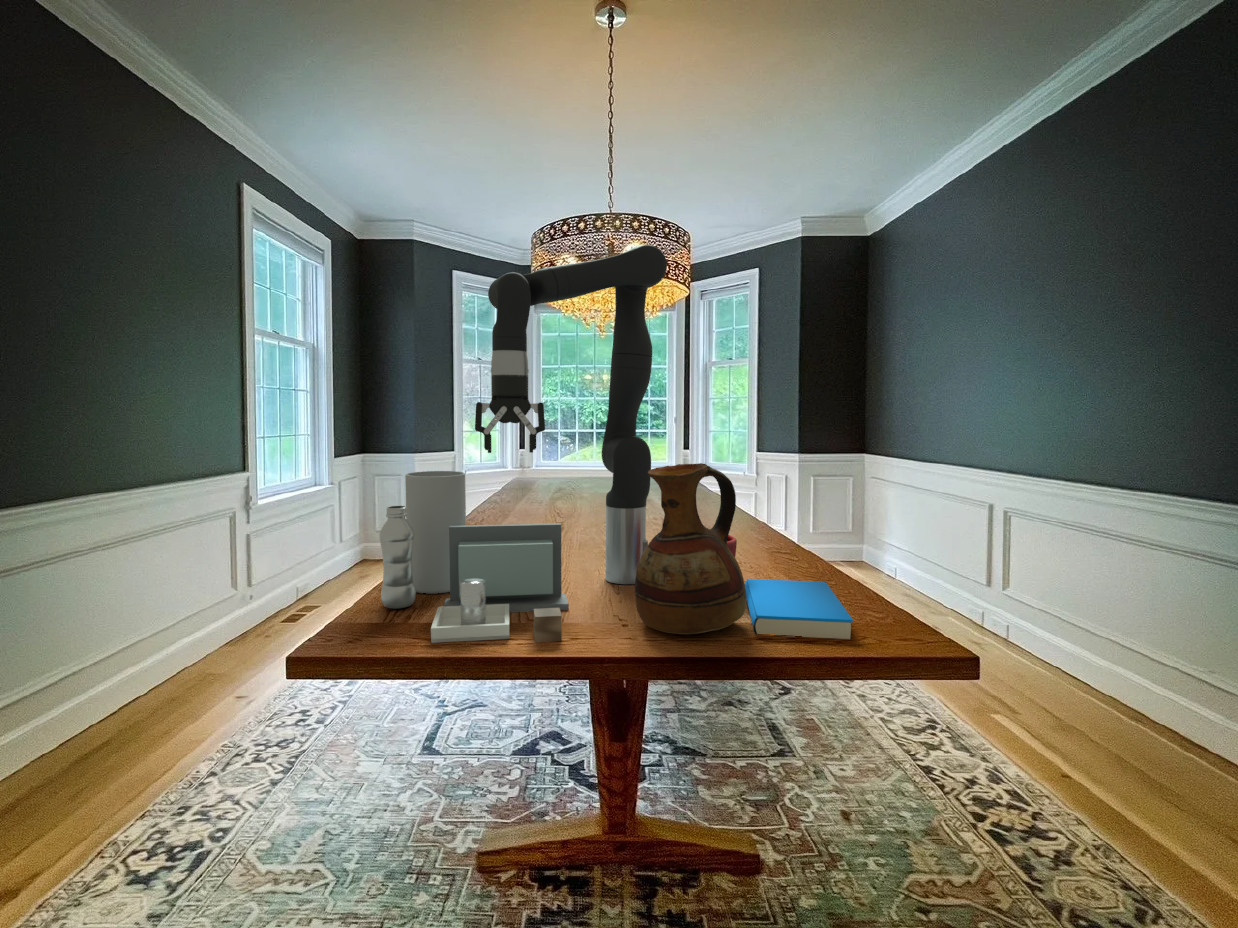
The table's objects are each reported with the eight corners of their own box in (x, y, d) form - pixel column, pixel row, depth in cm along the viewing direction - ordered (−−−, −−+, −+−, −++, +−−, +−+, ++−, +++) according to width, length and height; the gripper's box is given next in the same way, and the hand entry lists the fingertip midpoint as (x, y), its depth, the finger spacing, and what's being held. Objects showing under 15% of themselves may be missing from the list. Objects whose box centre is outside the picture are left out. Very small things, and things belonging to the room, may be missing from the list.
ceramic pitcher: (617, 616, 125) (619, 459, 122) (709, 604, 133) (712, 457, 130) (665, 652, 107) (667, 469, 104) (767, 635, 115) (772, 465, 112)
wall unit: (565, 599, 136) (565, 522, 134) (568, 609, 129) (568, 529, 127) (446, 604, 132) (444, 525, 130) (442, 615, 125) (441, 532, 123)
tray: (509, 616, 124) (509, 603, 124) (509, 638, 113) (509, 624, 112) (438, 619, 122) (438, 606, 122) (431, 642, 110) (430, 628, 110)
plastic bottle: (423, 604, 132) (421, 505, 130) (401, 614, 125) (399, 510, 124) (396, 600, 134) (393, 503, 132) (373, 610, 127) (370, 508, 126)
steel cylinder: (486, 620, 120) (485, 578, 119) (485, 629, 116) (485, 584, 115) (461, 622, 119) (461, 578, 118) (459, 630, 115) (459, 585, 114)
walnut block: (559, 632, 116) (559, 607, 116) (561, 641, 112) (561, 615, 111) (533, 633, 116) (533, 608, 115) (534, 642, 111) (534, 616, 111)
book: (825, 581, 138) (854, 617, 113) (824, 601, 138) (853, 642, 114) (742, 578, 140) (754, 613, 115) (742, 598, 140) (753, 637, 115)
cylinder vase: (474, 580, 150) (472, 471, 148) (455, 595, 138) (453, 477, 135) (421, 578, 151) (419, 470, 149) (397, 593, 139) (395, 476, 137)
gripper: (543, 375, 140) (543, 451, 141) (475, 374, 138) (476, 451, 139) (545, 373, 133) (545, 453, 134) (473, 372, 130) (474, 454, 132)
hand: (510, 452), depth 137 cm, fingers open, 8 cm apart
